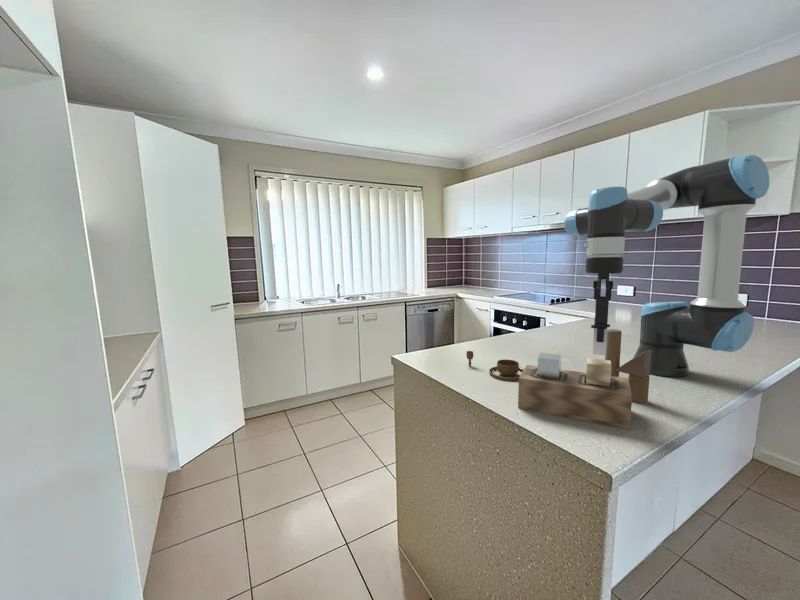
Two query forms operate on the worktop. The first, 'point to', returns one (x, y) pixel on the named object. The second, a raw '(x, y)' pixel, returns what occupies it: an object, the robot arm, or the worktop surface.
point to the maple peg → (598, 372)
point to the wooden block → (629, 366)
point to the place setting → (502, 368)
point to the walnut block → (576, 397)
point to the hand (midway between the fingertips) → (599, 354)
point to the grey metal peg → (549, 365)
